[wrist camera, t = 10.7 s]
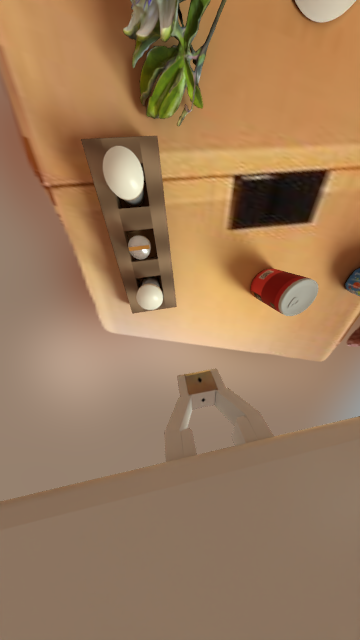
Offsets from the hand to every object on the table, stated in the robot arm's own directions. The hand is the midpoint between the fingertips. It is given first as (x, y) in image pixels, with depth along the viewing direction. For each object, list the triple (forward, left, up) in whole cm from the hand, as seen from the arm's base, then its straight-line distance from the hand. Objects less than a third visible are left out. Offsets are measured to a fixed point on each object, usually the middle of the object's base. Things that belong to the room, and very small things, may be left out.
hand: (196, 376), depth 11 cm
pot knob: (-8, -4, -24) cm, 25 cm away
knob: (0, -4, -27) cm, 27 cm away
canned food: (+4, +25, -27) cm, 37 cm away
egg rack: (-8, -4, -27) cm, 28 cm away
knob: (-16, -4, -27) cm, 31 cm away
